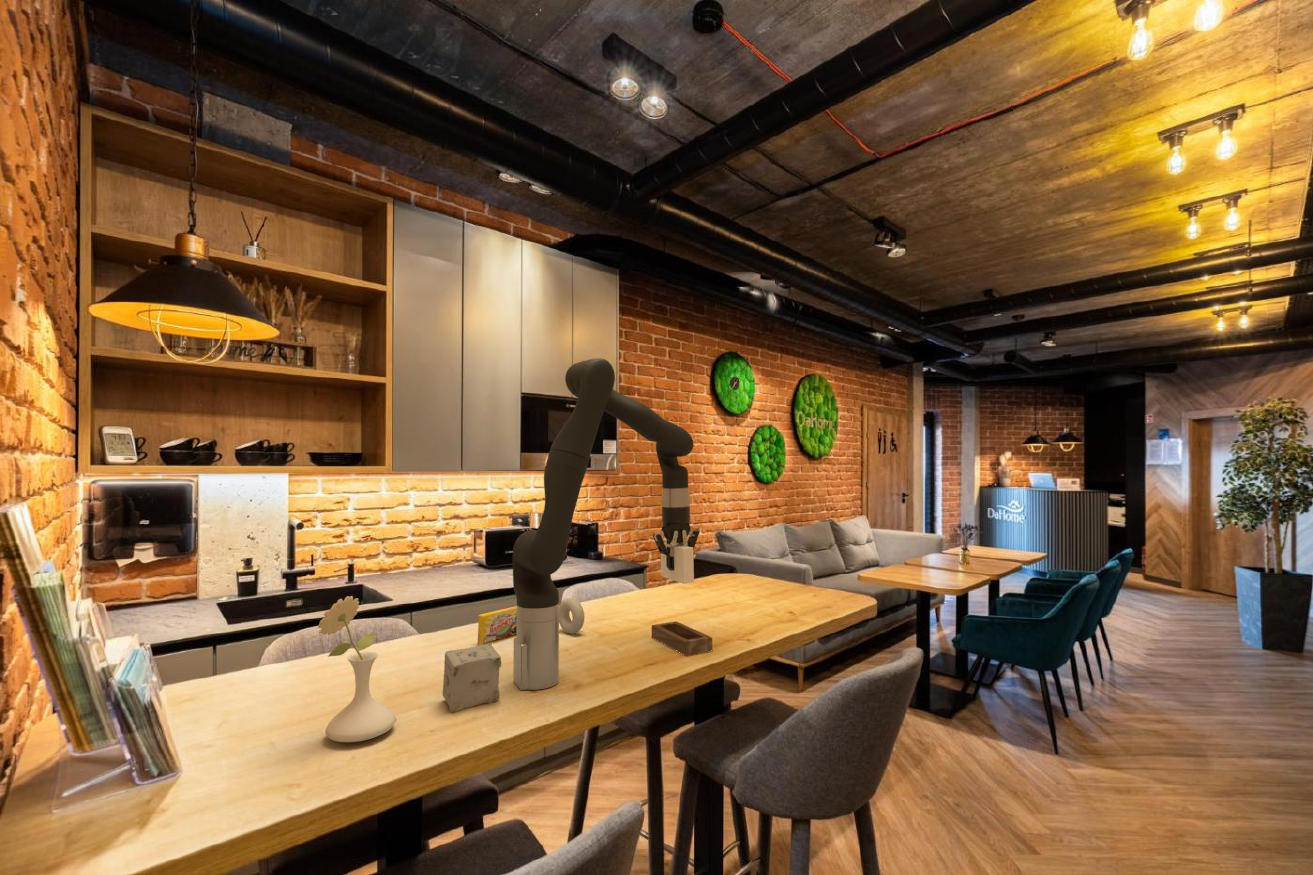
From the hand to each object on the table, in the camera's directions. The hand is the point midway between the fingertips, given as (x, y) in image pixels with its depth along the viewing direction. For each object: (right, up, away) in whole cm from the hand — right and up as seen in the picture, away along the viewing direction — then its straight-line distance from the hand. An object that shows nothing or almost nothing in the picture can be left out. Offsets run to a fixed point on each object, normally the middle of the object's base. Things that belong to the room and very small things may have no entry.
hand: (677, 569), depth 159 cm
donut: (-30, -21, +10) cm, 38 cm away
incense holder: (-43, -19, -39) cm, 61 cm away
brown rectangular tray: (+1, -20, -1) cm, 20 cm away
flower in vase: (-59, -18, -53) cm, 81 cm away
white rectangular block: (0, -3, 0) cm, 3 cm away
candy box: (-48, -21, +4) cm, 52 cm away
